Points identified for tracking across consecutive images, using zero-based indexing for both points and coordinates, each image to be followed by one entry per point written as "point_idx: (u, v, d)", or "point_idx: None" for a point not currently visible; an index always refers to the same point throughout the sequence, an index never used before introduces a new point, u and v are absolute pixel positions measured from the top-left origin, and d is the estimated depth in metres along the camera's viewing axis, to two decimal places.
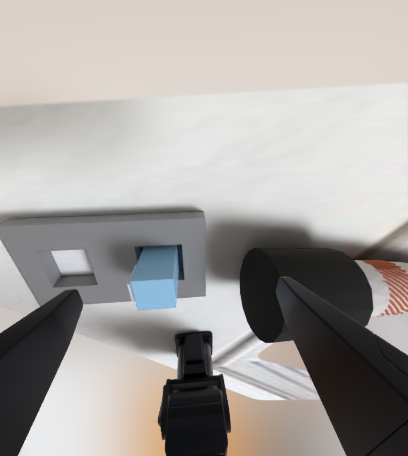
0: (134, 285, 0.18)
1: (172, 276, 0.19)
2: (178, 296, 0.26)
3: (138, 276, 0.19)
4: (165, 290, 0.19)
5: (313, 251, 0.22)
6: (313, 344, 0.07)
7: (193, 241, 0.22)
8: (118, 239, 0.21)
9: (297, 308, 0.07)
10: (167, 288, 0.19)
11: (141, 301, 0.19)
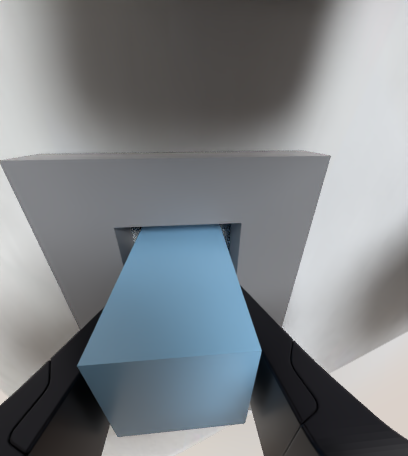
0: (133, 432, 0.06)
1: (88, 349, 0.04)
2: (300, 239, 0.09)
3: None
4: (148, 380, 0.04)
5: None
6: None
7: (97, 196, 0.07)
8: None
9: None
10: (140, 377, 0.04)
11: (207, 419, 0.06)
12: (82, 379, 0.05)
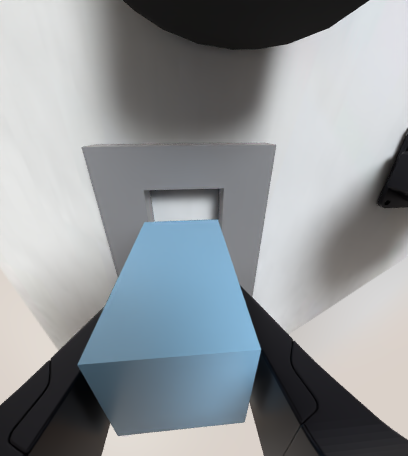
0: (133, 431, 0.06)
1: (88, 348, 0.04)
2: (263, 200, 0.14)
3: None
4: (148, 379, 0.05)
5: None
6: None
7: (135, 169, 0.12)
8: None
9: None
10: (140, 375, 0.04)
11: (207, 418, 0.06)
12: (82, 379, 0.05)
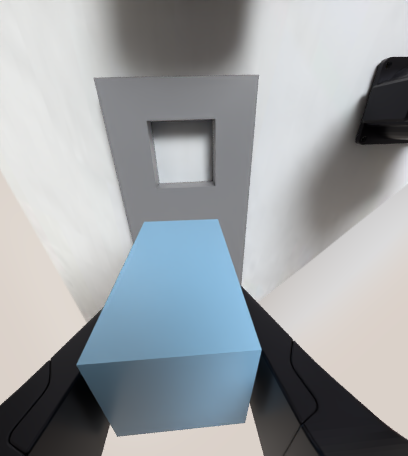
0: (133, 431, 0.06)
1: (88, 348, 0.04)
2: (250, 131, 0.16)
3: None
4: (148, 380, 0.04)
5: None
6: None
7: (139, 99, 0.14)
8: (147, 205, 0.18)
9: None
10: (139, 376, 0.04)
11: (207, 418, 0.06)
12: (82, 379, 0.05)
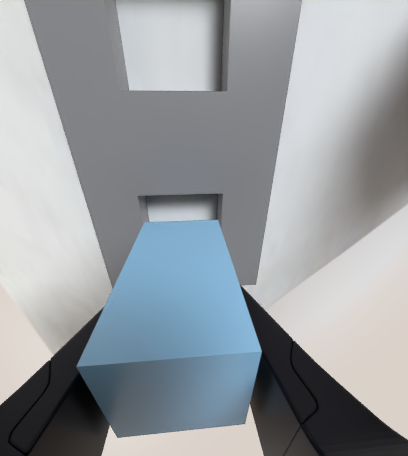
0: (133, 432, 0.06)
1: (88, 349, 0.04)
2: None
3: None
4: (148, 382, 0.04)
5: None
6: None
7: None
8: (105, 125, 0.10)
9: None
10: (140, 377, 0.04)
11: (207, 420, 0.06)
12: (82, 379, 0.05)
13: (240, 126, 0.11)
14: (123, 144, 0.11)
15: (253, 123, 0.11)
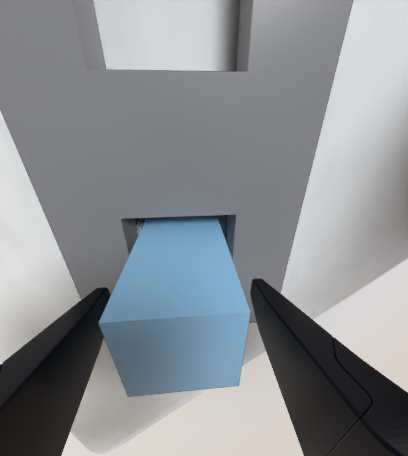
0: (141, 391, 0.07)
1: (106, 312, 0.05)
2: None
3: None
4: (156, 339, 0.05)
5: None
6: (278, 347, 0.06)
7: None
8: (69, 122, 0.07)
9: (265, 310, 0.07)
10: (149, 335, 0.05)
11: (206, 380, 0.07)
12: (31, 384, 0.05)
13: (264, 123, 0.07)
14: (97, 149, 0.07)
15: (283, 119, 0.07)
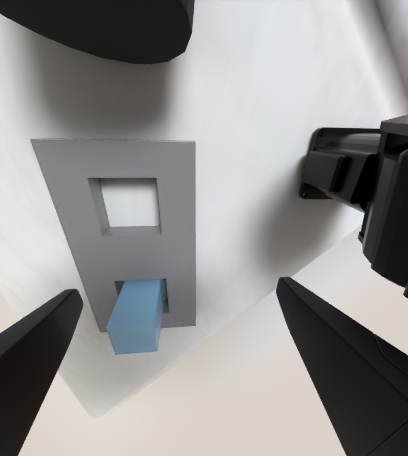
0: (120, 352, 0.18)
1: (108, 324, 0.17)
2: (191, 189, 0.16)
3: None
4: (124, 332, 0.17)
5: None
6: (313, 344, 0.07)
7: (78, 159, 0.15)
8: (94, 250, 0.18)
9: (297, 308, 0.07)
10: (122, 331, 0.17)
11: (144, 348, 0.18)
12: None
13: (171, 248, 0.19)
14: (105, 258, 0.19)
15: (178, 247, 0.19)
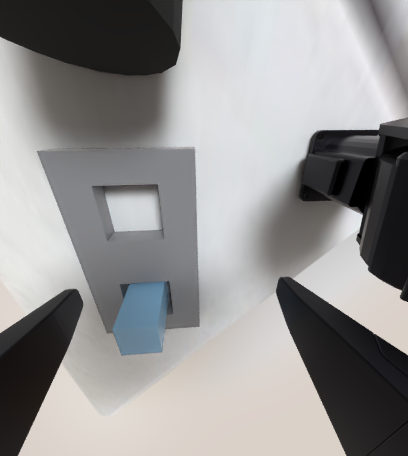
0: (126, 353, 0.19)
1: (114, 326, 0.17)
2: (192, 194, 0.17)
3: None
4: (129, 334, 0.17)
5: None
6: (313, 344, 0.07)
7: (82, 169, 0.15)
8: (100, 255, 0.19)
9: (297, 308, 0.07)
10: (127, 333, 0.17)
11: (149, 349, 0.19)
12: None
13: (174, 252, 0.20)
14: (110, 262, 0.20)
15: (181, 250, 0.20)
